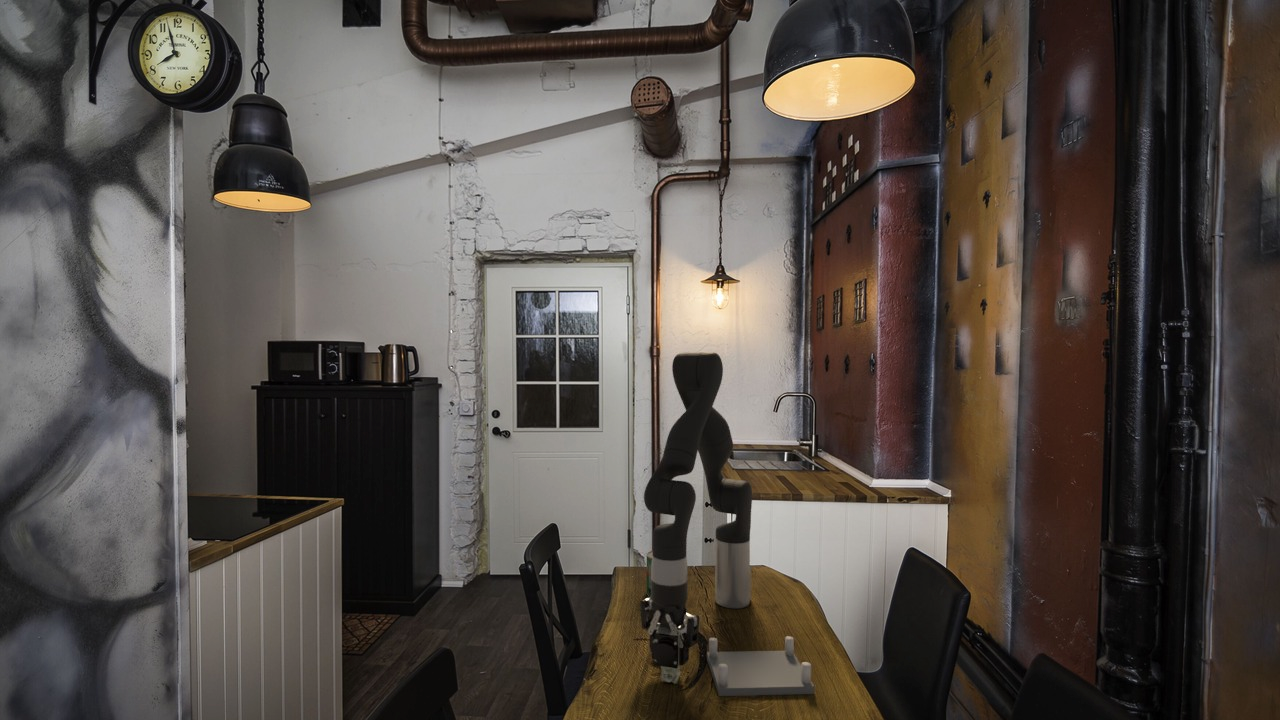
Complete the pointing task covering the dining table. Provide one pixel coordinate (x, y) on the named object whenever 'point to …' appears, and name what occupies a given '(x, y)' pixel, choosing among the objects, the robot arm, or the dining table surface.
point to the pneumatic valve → (667, 653)
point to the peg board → (759, 671)
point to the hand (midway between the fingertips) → (668, 657)
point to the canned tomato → (649, 573)
